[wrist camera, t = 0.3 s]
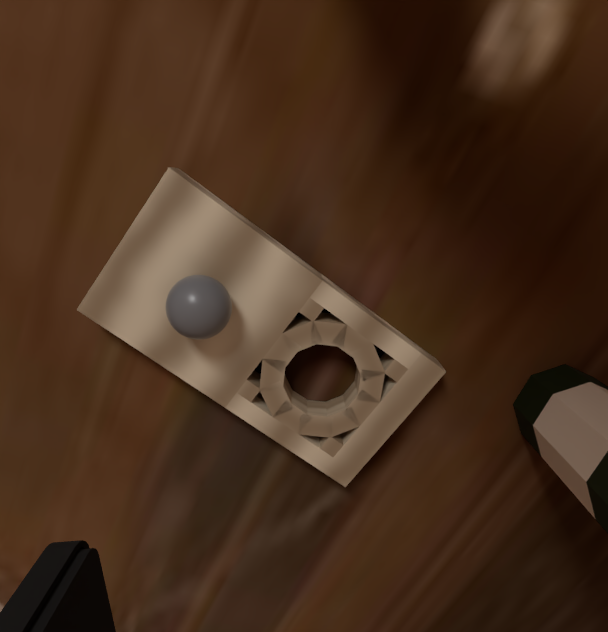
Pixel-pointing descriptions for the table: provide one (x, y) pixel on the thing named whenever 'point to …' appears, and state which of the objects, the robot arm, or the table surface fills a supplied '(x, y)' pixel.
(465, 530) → the table surface
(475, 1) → the table surface
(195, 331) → the ball
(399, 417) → the beige flat board
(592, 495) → the wine bottle
